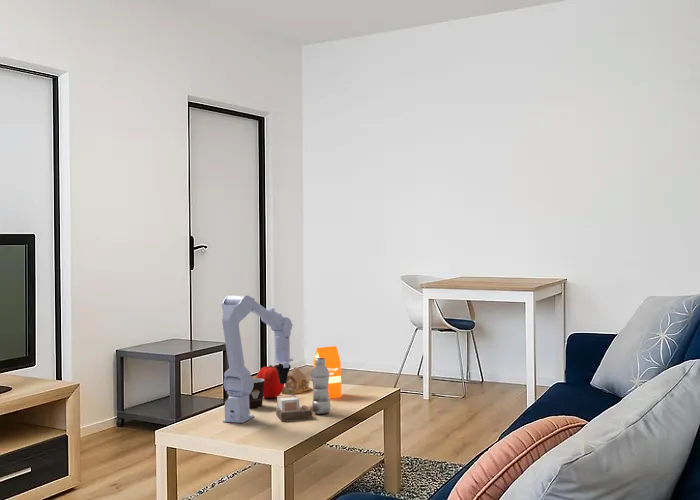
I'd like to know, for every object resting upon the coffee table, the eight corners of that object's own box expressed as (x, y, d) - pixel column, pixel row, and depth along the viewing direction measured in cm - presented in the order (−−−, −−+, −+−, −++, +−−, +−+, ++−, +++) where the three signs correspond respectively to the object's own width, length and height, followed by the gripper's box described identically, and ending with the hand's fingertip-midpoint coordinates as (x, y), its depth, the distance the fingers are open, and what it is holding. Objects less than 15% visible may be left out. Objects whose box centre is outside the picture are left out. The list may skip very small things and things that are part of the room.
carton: (299, 412, 265) (299, 398, 265) (282, 414, 263) (281, 400, 263) (294, 407, 272) (293, 394, 272) (277, 409, 270) (277, 395, 270)
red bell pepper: (281, 393, 298) (280, 361, 297) (287, 399, 286) (287, 366, 286) (253, 395, 294) (252, 363, 294) (259, 402, 282) (258, 368, 282)
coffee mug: (267, 404, 279) (266, 378, 279) (262, 409, 270) (261, 382, 270) (237, 403, 280) (237, 378, 280) (232, 409, 271) (231, 382, 271)
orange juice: (313, 395, 292) (312, 346, 291) (333, 393, 295) (332, 344, 295) (321, 399, 285) (320, 349, 284) (341, 397, 288) (340, 347, 288)
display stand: (312, 418, 255) (311, 410, 254) (281, 421, 251) (281, 413, 251) (305, 412, 264) (305, 404, 264) (276, 414, 261) (276, 406, 261)
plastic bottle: (328, 416, 258) (327, 360, 258) (310, 415, 259) (309, 360, 259) (332, 411, 264) (331, 357, 264) (314, 411, 266) (313, 357, 265)
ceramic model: (291, 387, 310) (290, 363, 310) (314, 388, 306) (314, 365, 306) (276, 393, 297) (275, 369, 297) (300, 395, 293) (300, 371, 293)
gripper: (296, 350, 270) (297, 386, 270) (288, 344, 284) (289, 379, 284) (277, 351, 268) (278, 387, 268) (270, 346, 282) (271, 380, 282)
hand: (283, 383), depth 276 cm, fingers closed
